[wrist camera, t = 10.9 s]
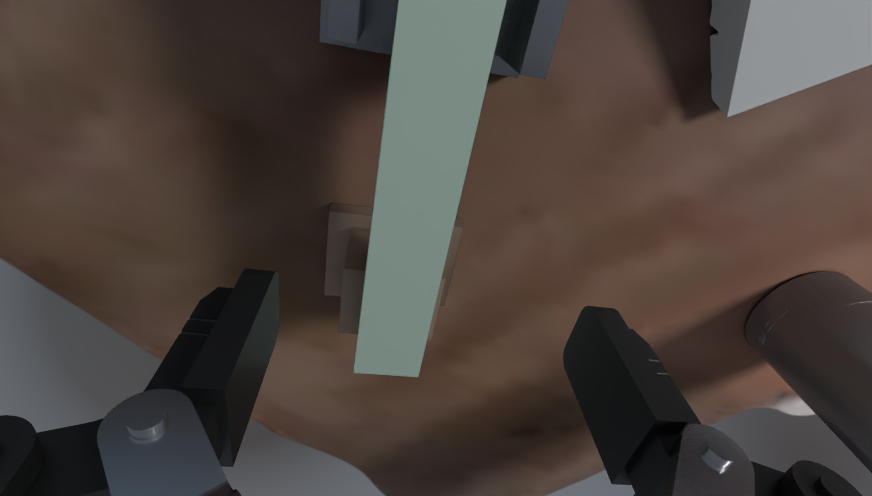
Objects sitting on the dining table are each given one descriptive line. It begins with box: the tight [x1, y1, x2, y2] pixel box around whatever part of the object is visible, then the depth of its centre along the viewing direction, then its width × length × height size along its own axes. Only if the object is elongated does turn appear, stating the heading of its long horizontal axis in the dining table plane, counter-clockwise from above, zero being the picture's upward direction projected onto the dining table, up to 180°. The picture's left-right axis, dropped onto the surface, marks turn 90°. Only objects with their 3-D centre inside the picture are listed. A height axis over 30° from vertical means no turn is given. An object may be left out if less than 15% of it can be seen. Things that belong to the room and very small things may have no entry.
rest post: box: [324, 203, 463, 340], centre depth 29 cm, size 9×7×6 cm
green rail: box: [354, 0, 507, 377], centre depth 20 cm, size 4×24×4 cm, turn 169°
